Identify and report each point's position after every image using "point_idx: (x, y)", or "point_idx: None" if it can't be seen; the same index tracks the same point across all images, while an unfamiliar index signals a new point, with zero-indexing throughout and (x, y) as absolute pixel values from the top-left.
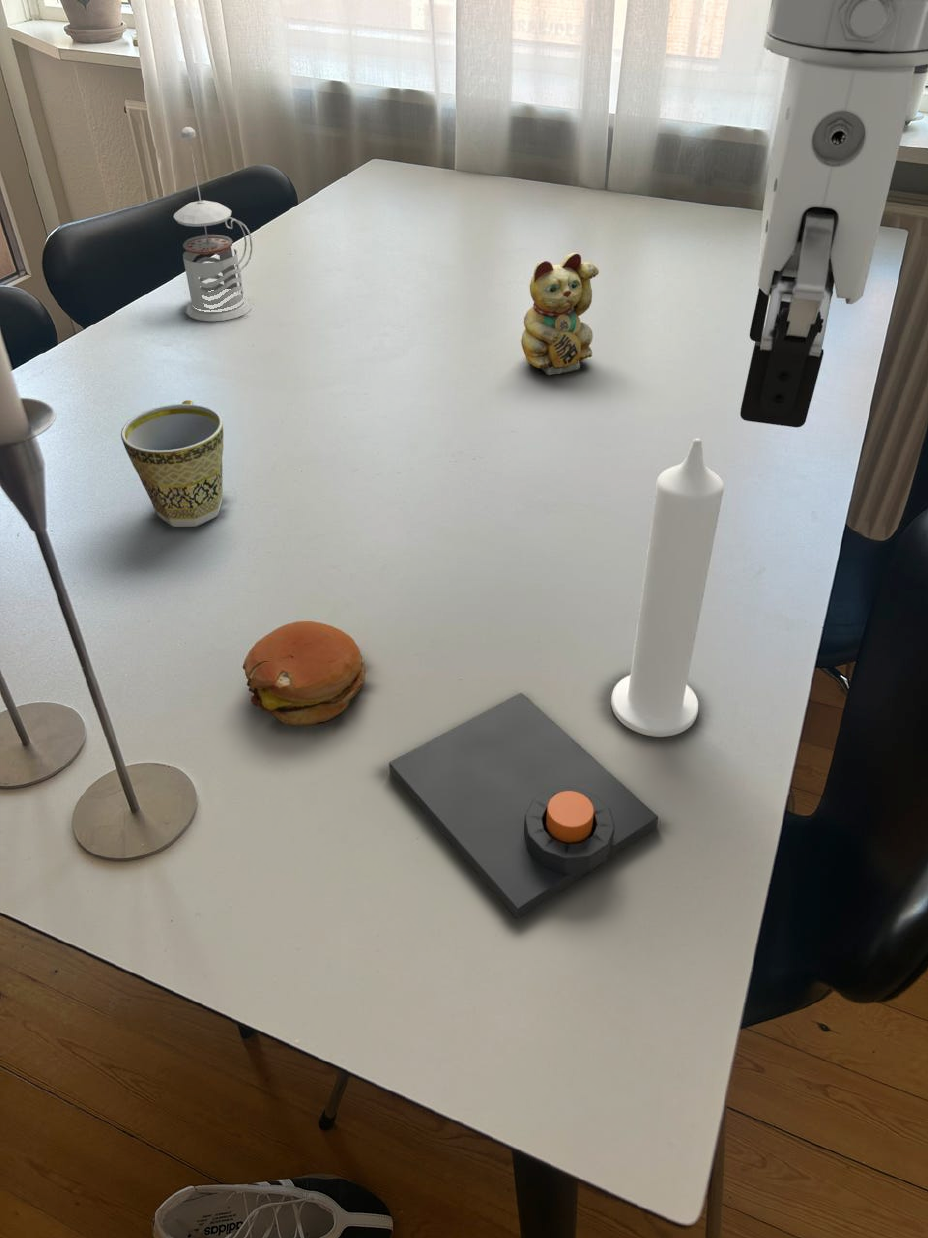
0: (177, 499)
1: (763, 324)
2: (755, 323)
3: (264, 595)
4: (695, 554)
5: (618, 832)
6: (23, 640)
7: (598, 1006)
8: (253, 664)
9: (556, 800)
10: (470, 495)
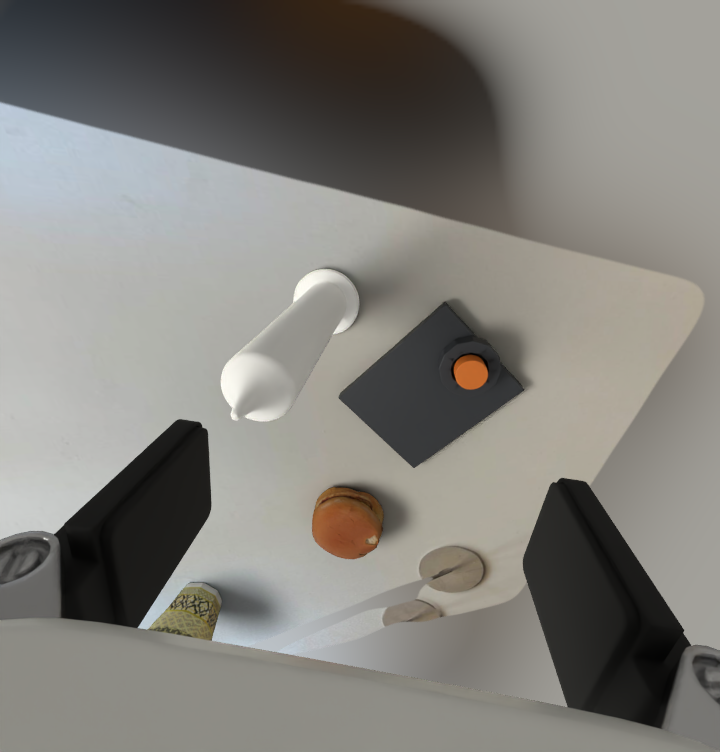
0: (212, 617)
1: (193, 523)
2: (194, 536)
3: (272, 546)
4: (308, 348)
5: (461, 331)
6: (338, 639)
7: (583, 338)
8: (360, 556)
9: (464, 384)
10: (117, 442)
